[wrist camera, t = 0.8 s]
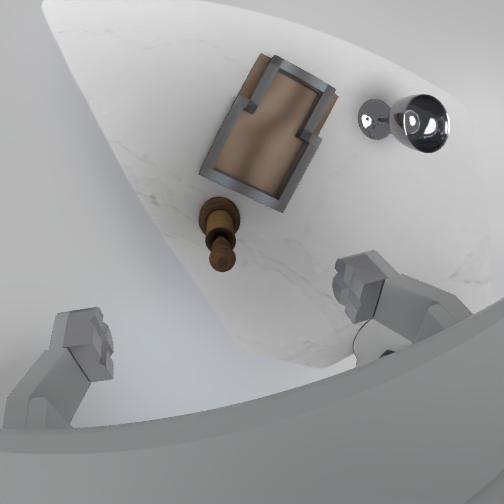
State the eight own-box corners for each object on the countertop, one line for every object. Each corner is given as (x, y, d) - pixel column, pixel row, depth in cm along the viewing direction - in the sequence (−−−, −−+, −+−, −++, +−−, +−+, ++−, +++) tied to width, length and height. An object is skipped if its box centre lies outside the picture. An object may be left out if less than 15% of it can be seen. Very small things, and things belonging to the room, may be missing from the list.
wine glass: (374, 87, 46) (426, 82, 33) (403, 120, 49) (457, 126, 35) (346, 118, 48) (393, 121, 34) (377, 151, 51) (428, 165, 37)
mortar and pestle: (193, 204, 51) (184, 246, 34) (232, 191, 51) (242, 227, 34) (207, 241, 54) (205, 296, 37) (244, 229, 54) (259, 280, 37)
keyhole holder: (337, 96, 47) (345, 95, 43) (278, 207, 53) (282, 213, 50) (260, 53, 43) (264, 49, 40) (199, 170, 49) (198, 174, 46)
